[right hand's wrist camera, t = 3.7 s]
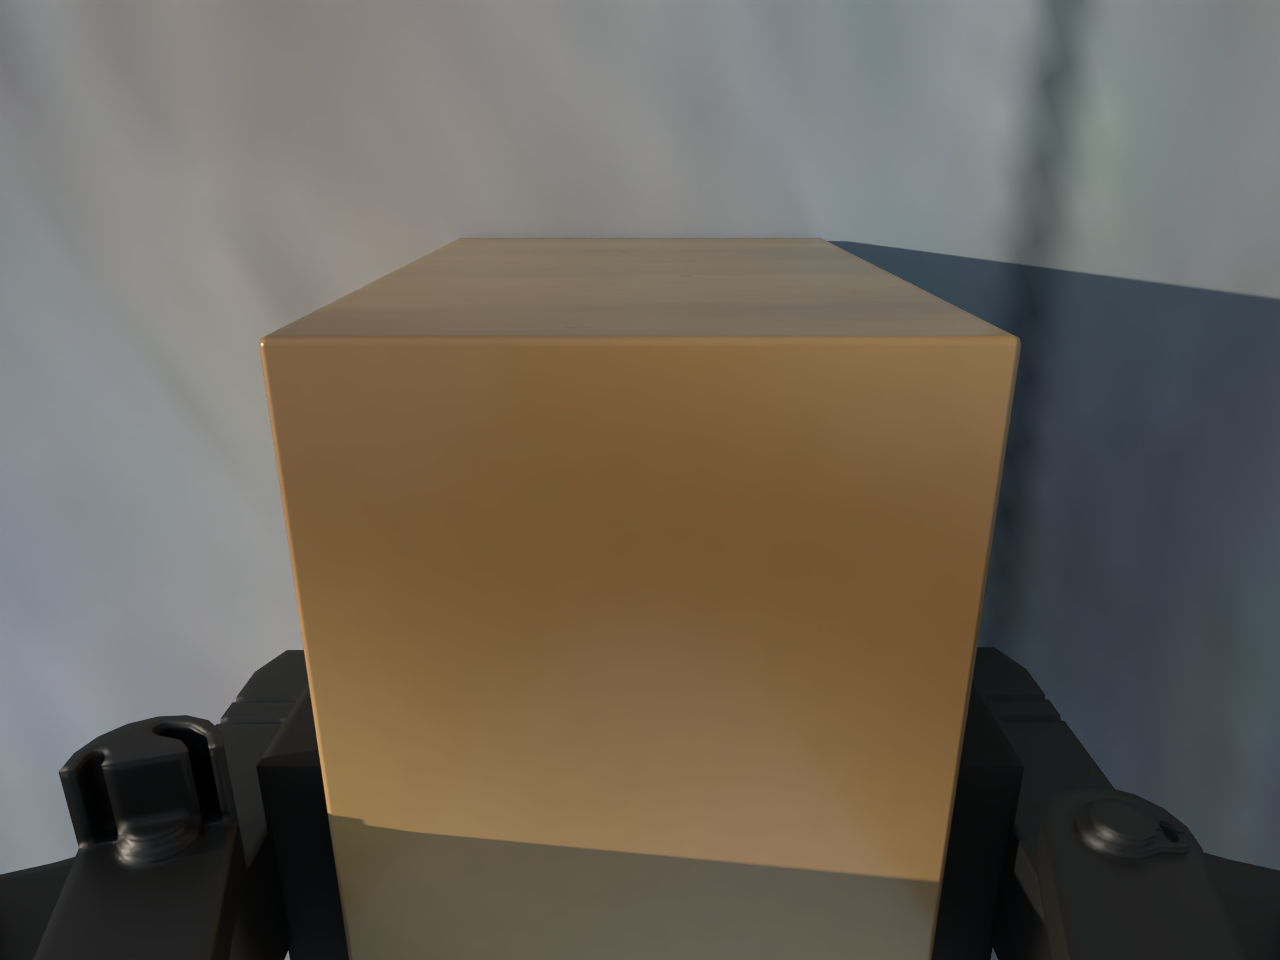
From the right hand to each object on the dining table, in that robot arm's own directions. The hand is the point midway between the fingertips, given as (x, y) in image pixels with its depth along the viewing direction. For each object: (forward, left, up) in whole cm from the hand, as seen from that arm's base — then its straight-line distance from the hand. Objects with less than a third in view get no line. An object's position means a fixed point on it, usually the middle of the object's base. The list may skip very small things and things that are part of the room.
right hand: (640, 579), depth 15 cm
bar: (+17, +30, -1) cm, 35 cm away
